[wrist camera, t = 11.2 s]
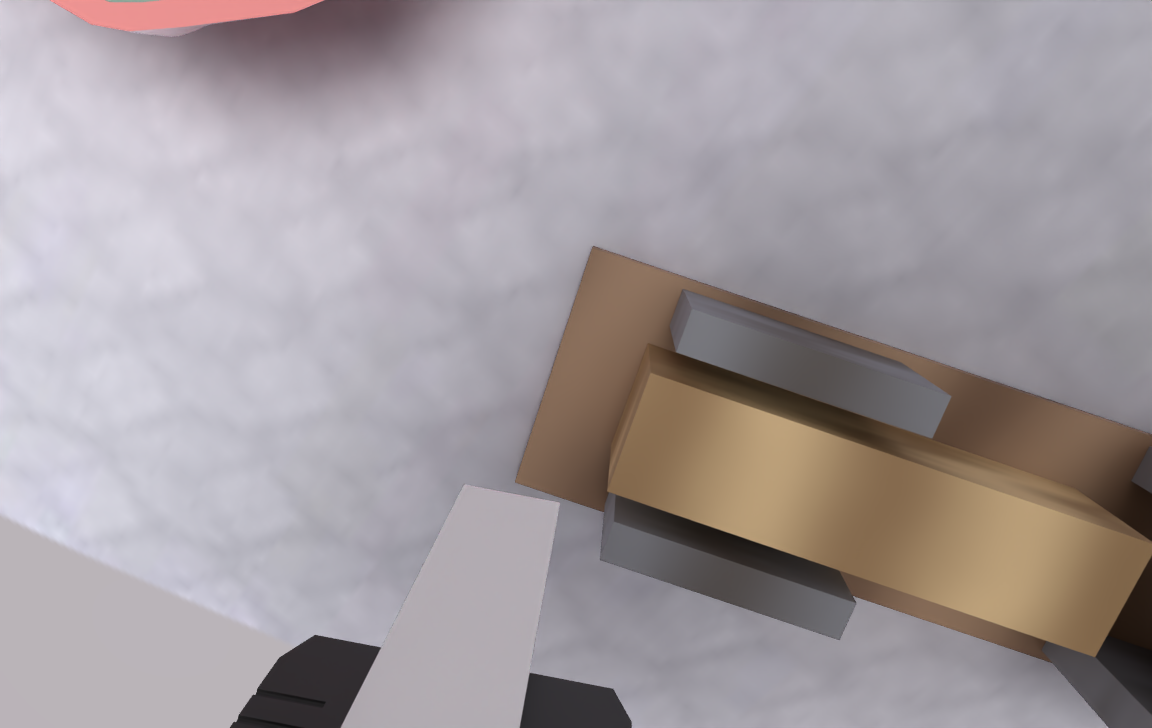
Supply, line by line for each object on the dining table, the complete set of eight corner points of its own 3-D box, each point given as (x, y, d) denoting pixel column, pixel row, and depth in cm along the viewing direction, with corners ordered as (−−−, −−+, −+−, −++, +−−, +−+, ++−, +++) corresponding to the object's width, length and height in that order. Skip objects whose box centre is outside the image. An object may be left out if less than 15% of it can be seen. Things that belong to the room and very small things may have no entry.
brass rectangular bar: (1075, 488, 25) (1157, 545, 21) (1025, 585, 26) (1095, 657, 22) (648, 342, 25) (650, 373, 21) (611, 444, 26) (607, 491, 22)
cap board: (1324, 492, 25) (1614, 623, 18) (1198, 704, 27) (1413, 903, 19) (593, 245, 25) (576, 273, 17) (517, 475, 27) (472, 587, 19)
